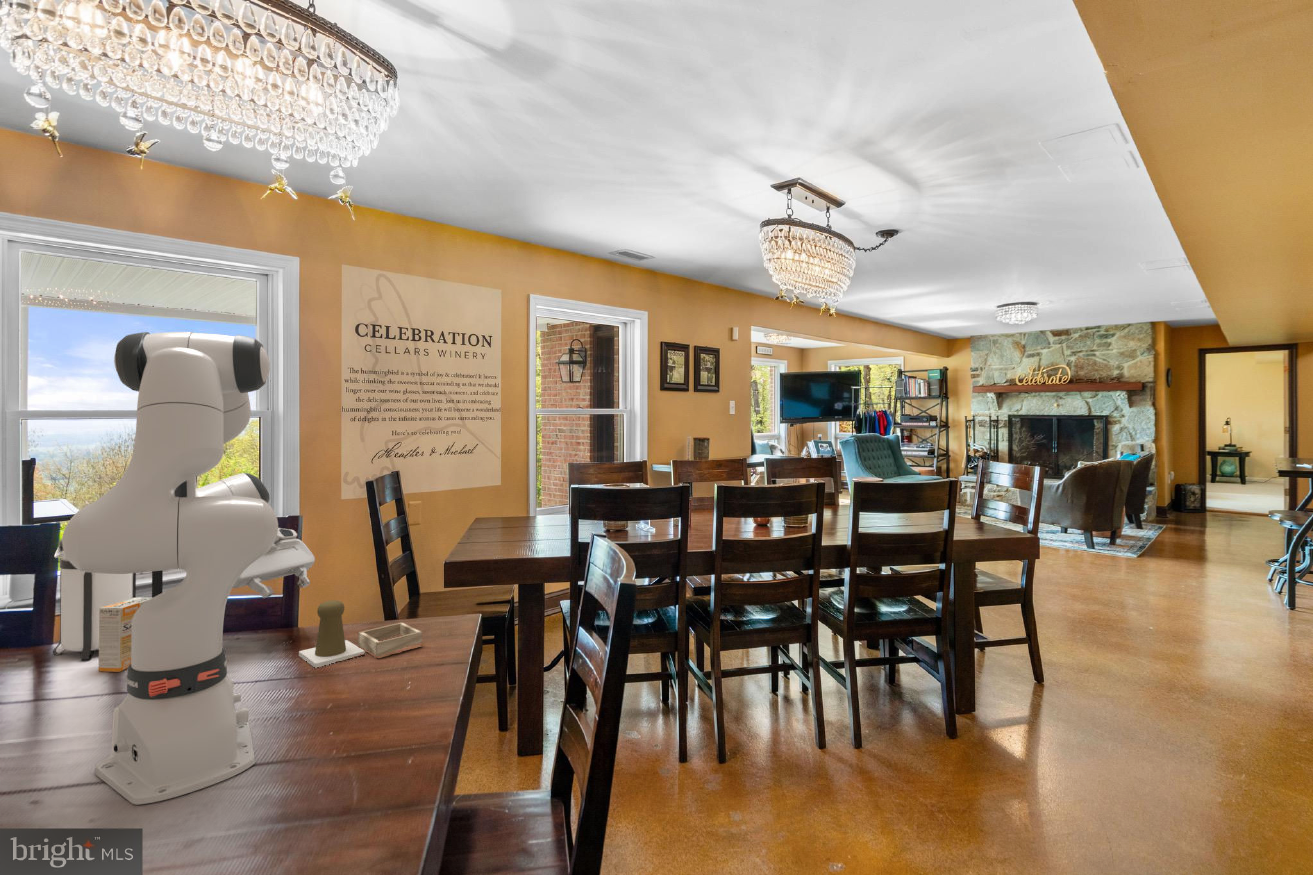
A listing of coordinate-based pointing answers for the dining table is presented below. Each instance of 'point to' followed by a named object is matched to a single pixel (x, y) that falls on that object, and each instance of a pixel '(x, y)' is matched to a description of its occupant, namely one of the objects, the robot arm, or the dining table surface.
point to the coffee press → (91, 602)
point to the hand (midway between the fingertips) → (288, 590)
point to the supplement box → (117, 634)
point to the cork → (330, 629)
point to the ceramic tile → (321, 661)
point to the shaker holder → (378, 648)
